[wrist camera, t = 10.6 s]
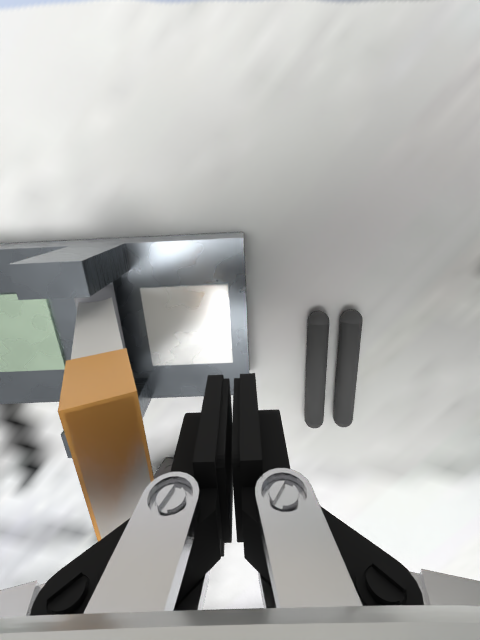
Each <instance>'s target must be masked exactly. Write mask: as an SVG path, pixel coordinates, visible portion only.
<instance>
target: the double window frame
mask: <svg viewBox="0 0 480 640" xmlns="http://www.w3.org/2000/svg"><path fill="white" fill-rule="evenodd" d="M111 282H113V286H114V291H115V296H116V301H117V306H118V312H119V317H120V322H121V327H122V332H123V337H124V342H125V347H126V349H127V353H128V357H129V361H130V365H131V369H132V373H133V377H134V381H135V385H136V389H137V394H138V399H139V404H140V410H141V415H142V419H143V416H144V414H145V412H146V409H147V407H148V405H149V403H150V400H151V398H165V397H191V396H204V394H205V388H206V383H207V377H208V375H224V379H225V378H229V380H230V393H231V395H234V378H240V374H249V354H248V330H247V306H246V282H245V259H244V236H243V232H230V233H210V234H189V235H169V236H148V237H127V238H107V239H86V240H65V241H45V242H24V243H4V244H0V404H10V403H36V402H59V401H60V395H61V389H62V382H63V376H64V370H65V364H66V361H67V360H71V353H72V346H73V338H74V330H75V323H76V315H77V309H76V305H75V301H74V298H78V297H90V296H92V295H93V294H95V293H96V292H98V291H99V290H101V289H102V288H104V287H105V286H107V285H108V284H110V283H111ZM61 437H62V440H63V443H64V446H65V450H66V453H67V456H68V458H72V455H71V452H70V449H69V446H68V442H67V439H66V436H65V433H64V431H63V432H62V434H61Z"/></svg>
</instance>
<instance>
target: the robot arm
mask: <svg viewBox="0 0 480 640" xmlns="http://www.w3.org/2000/svg"><path fill="white" fill-rule="evenodd" d="M233 490H234V504H235V518H236V531H237V542H244V555H245V559H246V560H247V561H248V562H249V563H250V564H251V565H252V566H253V567H254V568H255V569H256V570H257V571H258V575H259V584H260V589H261V594H262V600H263V605H264V608H257V609H220V610H203V606H204V601H205V597H206V592H207V587H208V582H209V570H210V569H211V568H212V567H213V566H214V565H215V564H216V563H217V562H218V561H219V560H220V559H221V556H224V543H231V541H232V502H233ZM0 640H480V581H476V580H472V579H467V578H462V577H457V576H453V575H448V574H443V573H438V572H434V571H429V570H424V569H421V572H420V574H419V573H414V572H409V571H408V569H406V568H405V567H404V566H403V565H402V564H401V563H400V562H398V561H397V560H396V559H394V558H393V557H392V556H390V555H389V554H387V553H386V552H384V551H383V550H382V549H380V548H379V547H377V546H376V545H375V544H373V543H372V542H370V541H369V540H368V539H366V538H365V537H363V536H362V535H360V534H359V533H358V532H356V531H355V530H353V529H352V528H351V527H349V526H348V525H346V524H345V523H343V522H342V521H341V520H339V519H338V518H336V517H335V516H334V515H332V514H331V513H329V512H328V511H326V510H325V509H324V508H322V507H321V506H320V505H319V502H318V500H317V498H316V495H315V493H314V491H313V488H312V486H311V484H310V483H309V481H308V480H307V479H306V478H305V477H304V476H303V475H302V474H301V473H299V472H297V471H295V470H292V469H290V465H289V459H288V454H287V448H286V443H285V438H284V432H283V427H282V421H281V416H280V411H279V410H258V403H257V391H256V379H255V373H249V374H240V378H234V395H233V423H232V408H231V393H230V380H229V378H225V379H224V375H208V377H207V383H206V388H205V394H204V400H203V405H202V411H201V413H186V414H185V416H184V419H183V423H182V427H181V431H180V435H179V439H178V443H177V447H176V451H175V455H174V459H173V463H172V467H171V471H170V473H166V474H163V475H161V476H159V477H157V478H155V479H154V480H153V481H152V482H151V483H150V484H149V485H148V486H147V487H146V489H145V490H144V492H143V494H142V496H141V498H140V500H139V502H138V504H137V506H136V508H135V510H134V512H133V514H132V516H131V518H129V519H128V520H127V521H125V522H124V523H123V524H121V525H120V526H119V527H117V528H116V529H115V530H113V531H112V532H110V533H109V534H108V535H106V536H105V537H104V538H102V539H101V540H100V541H98V542H97V543H96V544H94V545H93V546H92V547H90V548H89V549H88V550H86V551H85V552H84V553H82V554H81V555H80V556H78V557H77V558H75V559H74V560H73V561H71V562H70V563H69V564H67V565H66V566H65V567H63V568H62V569H61V570H59V571H58V572H57V573H56V574H55V575H54V576H52V577H51V578H50V579H49V580H48V581H47V582H46V583H45V584H41V585H39V584H38V582H37V581H33V582H29V583H26V584H22V585H18V586H15V587H11V588H7V589H4V590H0Z"/></svg>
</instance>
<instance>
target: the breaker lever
mask: <svg viewBox="0 0 480 640" xmlns="http://www.w3.org/2000/svg"><path fill="white" fill-rule="evenodd" d="M74 301H75V305H76V309H77V315H76V323H75V330H74V338H73V346H72V353H71V360H67V361H66V364H65V370H64V376H63V382H62V389H61V395H60V401H59V408H58V413H59V416H60V420H61V423H62V426H63V429H64V433H65V436H66V439H67V442H68V446H69V449H70V452H71V455H72V459H73V462H74V465H75V468H76V472H77V475H78V478H79V481H80V485H81V488H82V491H83V494H84V498H85V501H86V504H87V507H88V511H89V514H90V517H91V520H92V524H93V527H94V530H95V533H96V536H97V540H98V541H100V540H101V539H102V538H104V537H105V536H106V535H108V534H109V533H110V532H112V531H113V530H115V529H116V528H117V527H119V526H120V525H121V524H123V523H124V522H125V521H127V520H128V519H129V518H131V516H132V514H133V512H134V510H135V508H136V506H137V504H138V502H139V500H140V498H141V496H142V494H143V492H144V490H145V489H146V487H147V486H148V485H149V484H150V483H151V482H152V481H153V480H154V477H153V472H152V466H151V461H150V456H149V451H148V446H147V441H146V435H145V430H144V425H143V420H142V415H141V410H140V404H139V399H138V394H137V389H136V385H135V381H134V377H133V373H132V369H131V365H130V361H129V357H128V353H127V349H126V347H125V342H124V337H123V332H122V327H121V322H120V317H119V312H118V306H117V301H116V296H115V291H114V286H113V282H111V283H110V284H108V285H107V286H105V287H104V288H102V289H101V290H99V291H98V292H96V293H95V294H93V295H92V296H90V297H78V298H74Z"/></svg>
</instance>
